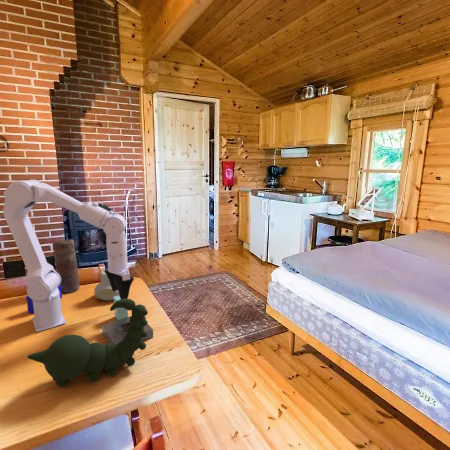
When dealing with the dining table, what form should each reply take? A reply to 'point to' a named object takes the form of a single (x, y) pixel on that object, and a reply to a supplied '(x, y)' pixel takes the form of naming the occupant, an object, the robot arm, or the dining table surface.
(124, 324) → the port block
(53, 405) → the dining table surface
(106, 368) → the toy figurine
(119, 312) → the plug
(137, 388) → the dining table surface
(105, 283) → the air freshener
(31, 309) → the cable clip
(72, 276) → the candle
